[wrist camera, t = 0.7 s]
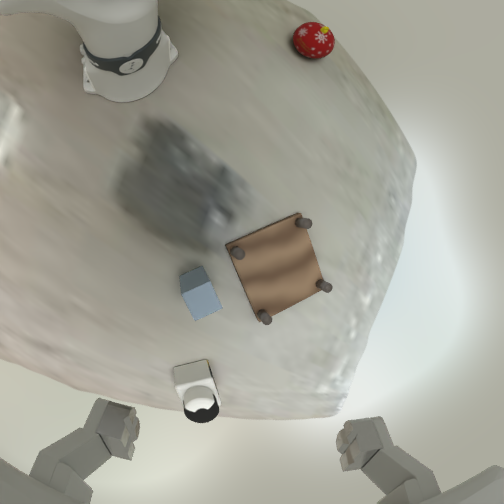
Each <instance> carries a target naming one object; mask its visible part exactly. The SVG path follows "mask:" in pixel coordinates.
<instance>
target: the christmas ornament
mask: <svg viewBox="0 0 504 504" xmlns="http://www.w3.org/2000/svg"><path fill="white" fill-rule="evenodd" d="M293 42H294V45H295V47H296V49H297V50H298V51H299V52H300V53H301V54H302V55H304V56H306V57H309V58H322V57H325V56H327V55H328V54H329V53H331V51H332V50H333V48H334V44H335V39H334V36H333V34H332V32H331V31H330V30H329V28H328V27H326V26H324V25H322V24H320V23H316V22H308V23H305V24H302V25H300V26H299V27H298V28H297V29H296V30H295V32H294V35H293Z"/></svg>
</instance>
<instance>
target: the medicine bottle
mask: <svg viewBox="0 0 504 504" xmlns="http://www.w3.org/2000/svg"><path fill="white" fill-rule="evenodd" d="M174 383H175V389H176V391H177V394H178V396H179V398H180V401H181V403H182V405H183V407H184V413H185V415H186V417H187V418H188V419H190V420H191V421H194V422H197V423H206V422H209V421H211V420H213V419H214V418H215V417H216V416H217V415H218V413H219V406H220V405H221V400H220V397H219V394H218V391H217V387H216V384H215V381H214V378H213V375H212V372H211V369H210V366H209V363H208V360H202V361H198V362H194V363H190V364H186V365H182V366H177V367H174Z"/></svg>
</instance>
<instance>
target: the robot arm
mask: <svg viewBox="0 0 504 504" xmlns="http://www.w3.org/2000/svg"><path fill="white" fill-rule="evenodd" d="M27 12H34V13H45V14H49V15H53V16H57V17H60V18H62V19H64V20H66V21H68V22H70V23H71V24H72V25H73V26H74V27H75V29H76V30H77V31H78V33H79V35H80V36H81V38H82V40H83V44H81V45H80V52H81V54H82V55H84V57H83V58H82V64H83V88H84V91H85V92H86V93H89V94H99V95H101V96H103V97H104V98H106V99H108V100H111V101H115V102H130V101H135V100H138V99H140V98H143V97H145V96H147V95H148V94H150V93H151V92H153V91H154V90H155V89H156V88H157V87H158V86H159V85H160V84H161V83H162V81H163V80H164V78H165V76H166V73H167V71H168V68H169V66H170V65H171V64H172V63H173V62H174V61H175V60H176V58H177V57H178V51H177V49H176V48H175V46H174V45H173V44H172V42H171V41H170V38H169V36H168V35H166V34H165V32H164V31H163V30H162V26H161V22H160V18H159V16H158V0H0V15H5V16H7V15H12V14H18V13H27ZM170 50H171V51H170ZM88 82H90V83H88ZM135 415H136V410H135V407H131V406H127V405H122V404H119V403H115V402H111V401H108V400H105V399H101V398H98V399H97V400H96V401H95V403H94V405H93V407H92V410H91V412H90V414H89V416H88V418H87V421H86V423H85V425H84V428H78V429H77V430H75V431H73V432H72V433H70V434H69V435H67V436H65V437H64V438H62V439H60V440H58V441H57V442H55V443H53V444H51V445H50V446H48V447H46V448H45V449H43V450H41V451H40V452H39V454H38V456H37V458H36V461H35V463H34V465H33V467H32V470H31V472H30V474H29V476H28V475H27V474H25V473H23V472H22V471H20V470H18V469H17V468H15V467H14V466H12V465H11V464H9V463H7V462H6V461H4V460H3V459H1V458H0V504H90V501H91V497H92V493H93V490H92V488H91V487H90V486H89V485H88V484H87V483H86V482H85V481H84V479H85V478H87V477H88V476H89V475H90V474H91V473H93V472H94V471H95V470H96V469H98V468H99V467H100V466H101V465H102V464H104V463H105V462H106V461H107V460H108V459H110V458H111V455H112V456H116V457H120V458H123V459H127V460H132V457H133V453H134V449H135V447H134V444H133V442H134V441H135V440H137V438H138V435H139V429H140V423H139V419H138V418H137V417H136V416H135ZM336 445H337V450H338V451H339V452H340V453H341V454H342V456H341V457H340V462H341V466H342V470H343V471H350V470H357V469H361V470H362V471H363V472H364V473H365V474H366V476H368V477H369V479H370V480H371V481H372V482H373V483H375V484H376V485H377V486H378V487H379V488H380V489H381V490H382V491H383V492H384V493H385V494H386V496H385V497H383V498H382V499H381V500H379V501H378V502H377V504H504V468H502V467H500V466H497V465H494V466H491V467H489V468H487V469H486V470H484V471H482V472H481V473H479V474H477V475H476V476H474V477H472V478H470V479H468V480H467V481H465V482H463V483H461V484H459V485H457V486H455V487H453V488H451V489H449V490H447V491H445V492H443V493H441V491H440V489H439V486H438V484H437V481H436V479H435V476H434V474H433V471H431V470H430V469H429V468H427V467H426V466H424V465H423V464H422V463H420V462H419V461H417V460H416V459H415V458H413V457H412V456H411V455H409V454H408V453H406V452H405V451H404V450H402V449H401V448H399V447H398V446H394V445H393V442H392V440H391V437H390V435H389V432H388V430H387V427H386V425H385V423H384V420H383V418H382V417H379V416H378V417H372V418H364V419H357V420H348V421H346V422H345V424H344V429H342V430H341V431H339V433H338V435H337V439H336Z"/></svg>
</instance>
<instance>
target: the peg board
mask: <svg viewBox="0 0 504 504" xmlns="http://www.w3.org/2000/svg"><path fill="white" fill-rule="evenodd" d="M311 226H312V221H311V220H310V219H307V218H303V217H302V215H301V213H296V214H294V215H292V216H289V217H287V218H285V219H282V220H280V221H278V222H276V223H273V224H271V225H269V226H266V227H264V228H262V229H260V230H257V231H255V232H253V233H251V234H248V235H246V236H244V237H241V238H239V239H237V240H235V241H233V242H230V243H228V244H226V248H227V250H228V252H229V255H230V257H231V260H232V262H233V264H234V267H235V269H236V271H237V274H238V276H239V278H240V281H241V283H242V285H243V288H244V290H245V292H246V295H247V297H248V299H249V302H250V304H251V306H252V309H253V311H254V313H255V315H256V318H257V320H258V321H259V322H261V321H262V322H263V324H265V325H269V324H270V323H271V322H272V317H271V316H273V315H275V314H277V313H279V312H281V311H283V310H285V309H287V308H289V307H291V306H293V305H295V304H296V303H298V302H300V301H302V300H304V299H306V298H308V297H310V296H311V295H313V294H315V293H317V292H319V291H321V290H323V291H324V292H326V293H329V292H331V290H332V285H331V284H330V283H328V282H326V281H323V278H322V275H321V271H320V268H319V265H318V262H317V259H316V256H315V253H314V250H313V247H312V244H311V241H310V238H309V235H308V232H307V229H309V228H311Z"/></svg>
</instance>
